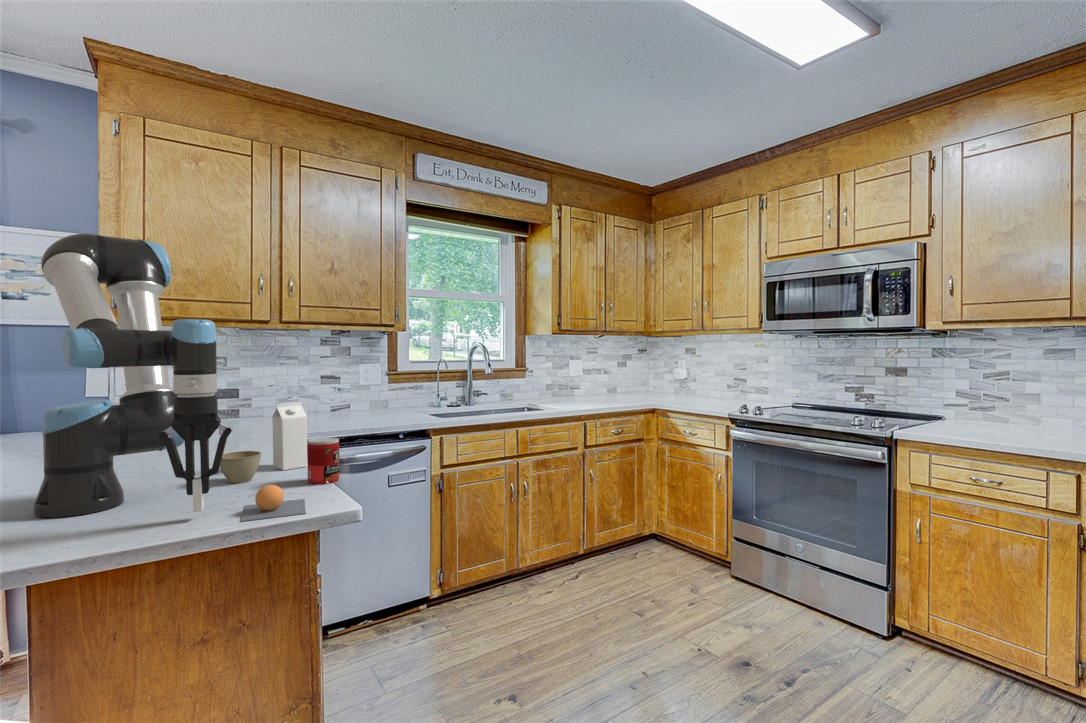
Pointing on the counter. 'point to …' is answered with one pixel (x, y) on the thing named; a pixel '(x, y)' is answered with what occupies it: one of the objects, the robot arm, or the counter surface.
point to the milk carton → (289, 436)
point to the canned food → (323, 460)
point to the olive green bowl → (240, 465)
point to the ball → (269, 497)
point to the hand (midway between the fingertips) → (198, 509)
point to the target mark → (283, 510)
